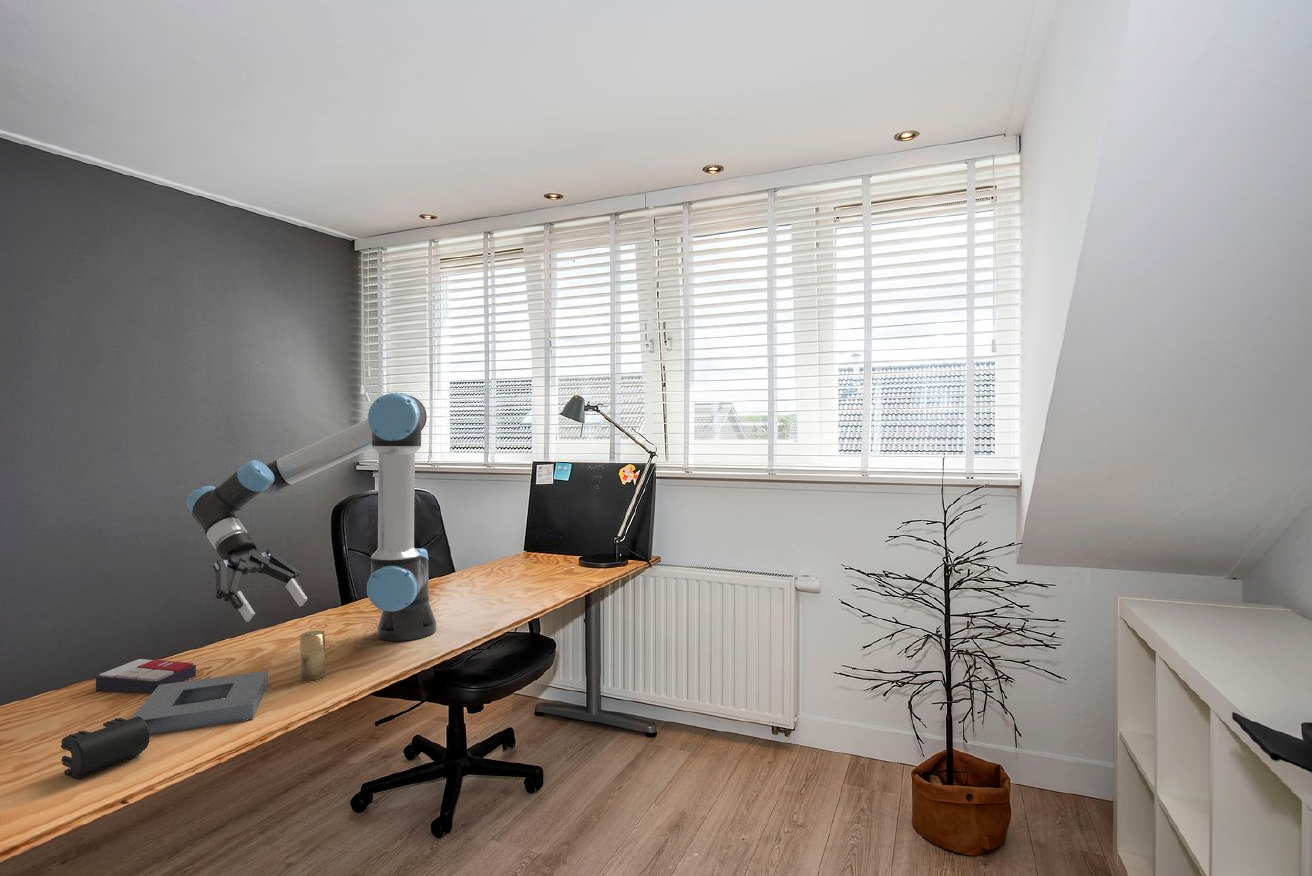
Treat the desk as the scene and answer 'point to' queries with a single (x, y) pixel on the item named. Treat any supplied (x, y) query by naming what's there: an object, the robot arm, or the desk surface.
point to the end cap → (104, 746)
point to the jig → (203, 702)
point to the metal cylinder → (312, 655)
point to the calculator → (144, 676)
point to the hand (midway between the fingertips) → (278, 610)
